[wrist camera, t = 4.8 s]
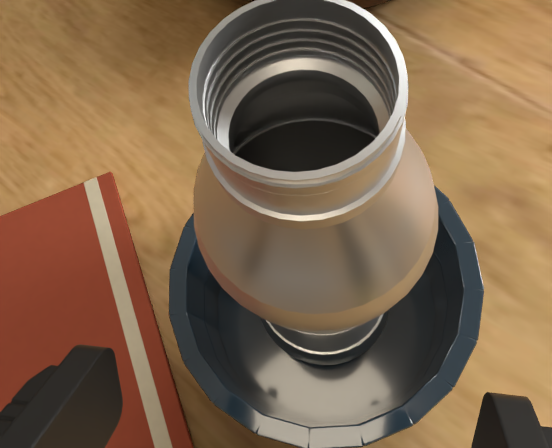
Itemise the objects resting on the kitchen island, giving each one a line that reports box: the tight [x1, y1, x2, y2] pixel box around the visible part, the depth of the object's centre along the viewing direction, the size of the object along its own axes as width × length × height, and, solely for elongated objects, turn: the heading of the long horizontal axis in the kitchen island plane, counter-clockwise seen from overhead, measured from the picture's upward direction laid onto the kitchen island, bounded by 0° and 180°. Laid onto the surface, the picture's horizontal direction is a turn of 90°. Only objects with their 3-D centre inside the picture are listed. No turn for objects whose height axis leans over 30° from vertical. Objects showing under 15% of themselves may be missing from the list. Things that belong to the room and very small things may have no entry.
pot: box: [169, 186, 484, 448], centre depth 24 cm, size 13×13×6 cm
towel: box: [0, 172, 194, 448], centre depth 27 cm, size 20×12×1 cm, turn 21°
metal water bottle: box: [189, 0, 438, 365], centre depth 17 cm, size 6×7×20 cm
